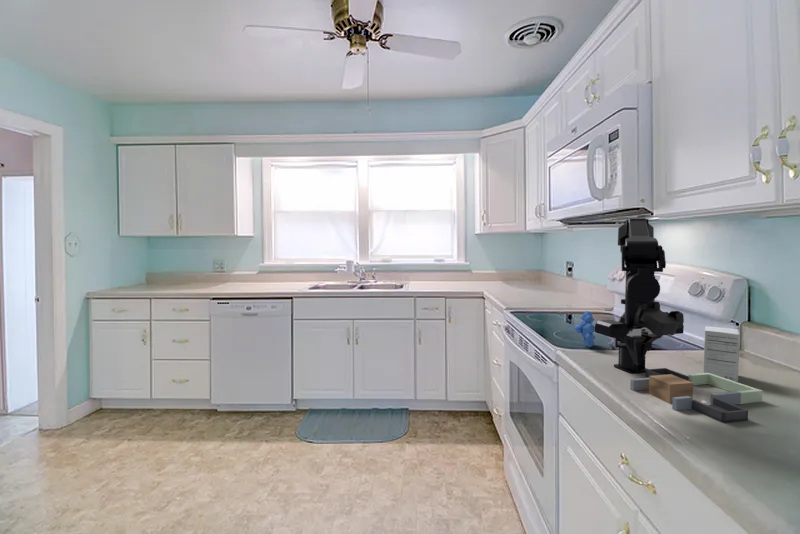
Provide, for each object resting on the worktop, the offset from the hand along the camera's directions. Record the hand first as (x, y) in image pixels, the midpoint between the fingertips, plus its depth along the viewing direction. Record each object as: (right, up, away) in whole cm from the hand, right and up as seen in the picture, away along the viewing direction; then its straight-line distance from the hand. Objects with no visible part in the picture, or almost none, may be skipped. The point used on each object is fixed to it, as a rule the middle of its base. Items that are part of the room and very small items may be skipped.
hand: (637, 364), depth 92 cm
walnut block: (+9, -8, +2) cm, 12 cm away
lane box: (+16, -8, +4) cm, 18 cm away
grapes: (+10, -6, +49) cm, 51 cm away
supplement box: (+32, -7, +17) cm, 37 cm away
